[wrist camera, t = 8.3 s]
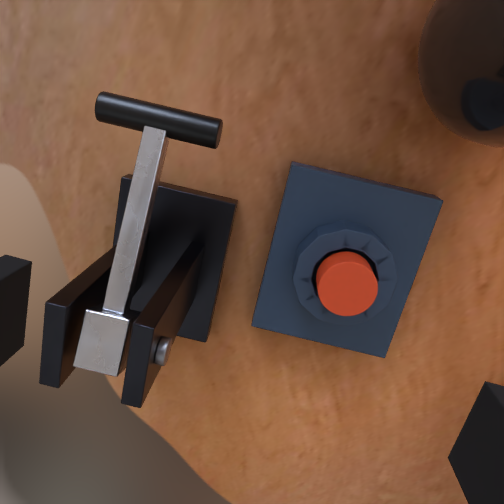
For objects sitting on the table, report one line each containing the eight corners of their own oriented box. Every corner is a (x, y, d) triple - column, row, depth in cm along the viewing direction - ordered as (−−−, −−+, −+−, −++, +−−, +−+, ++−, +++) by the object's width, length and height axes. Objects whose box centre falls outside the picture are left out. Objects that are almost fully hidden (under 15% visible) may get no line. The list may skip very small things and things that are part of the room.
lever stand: (128, 173, 32) (15, 224, 19) (238, 200, 32) (200, 268, 19) (110, 310, 36) (5, 431, 23) (209, 334, 36) (160, 469, 22)
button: (324, 245, 29) (327, 255, 27) (379, 258, 29) (386, 269, 27) (309, 295, 30) (311, 308, 28) (362, 308, 30) (367, 322, 28)
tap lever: (111, 99, 23) (94, 83, 21) (224, 126, 23) (221, 113, 21) (55, 345, 24) (32, 357, 21) (166, 372, 24) (156, 387, 21)
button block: (291, 161, 31) (291, 169, 27) (435, 195, 31) (455, 208, 27) (253, 315, 35) (248, 341, 31) (380, 345, 35) (391, 375, 31)
